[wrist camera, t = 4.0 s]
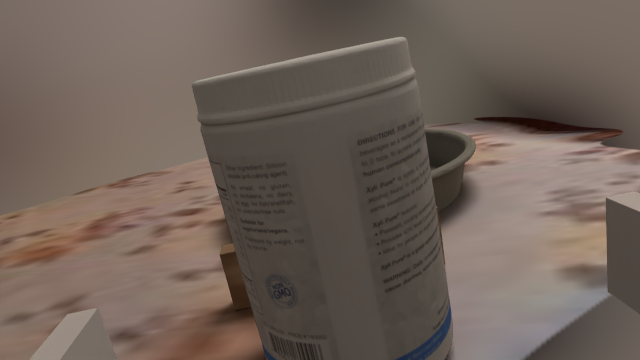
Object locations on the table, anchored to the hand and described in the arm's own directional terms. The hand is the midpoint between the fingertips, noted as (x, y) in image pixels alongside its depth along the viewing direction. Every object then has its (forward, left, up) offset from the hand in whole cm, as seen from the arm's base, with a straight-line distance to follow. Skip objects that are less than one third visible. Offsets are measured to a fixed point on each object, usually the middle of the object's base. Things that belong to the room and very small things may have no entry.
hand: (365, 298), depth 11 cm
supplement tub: (+7, +7, -9) cm, 13 cm away
